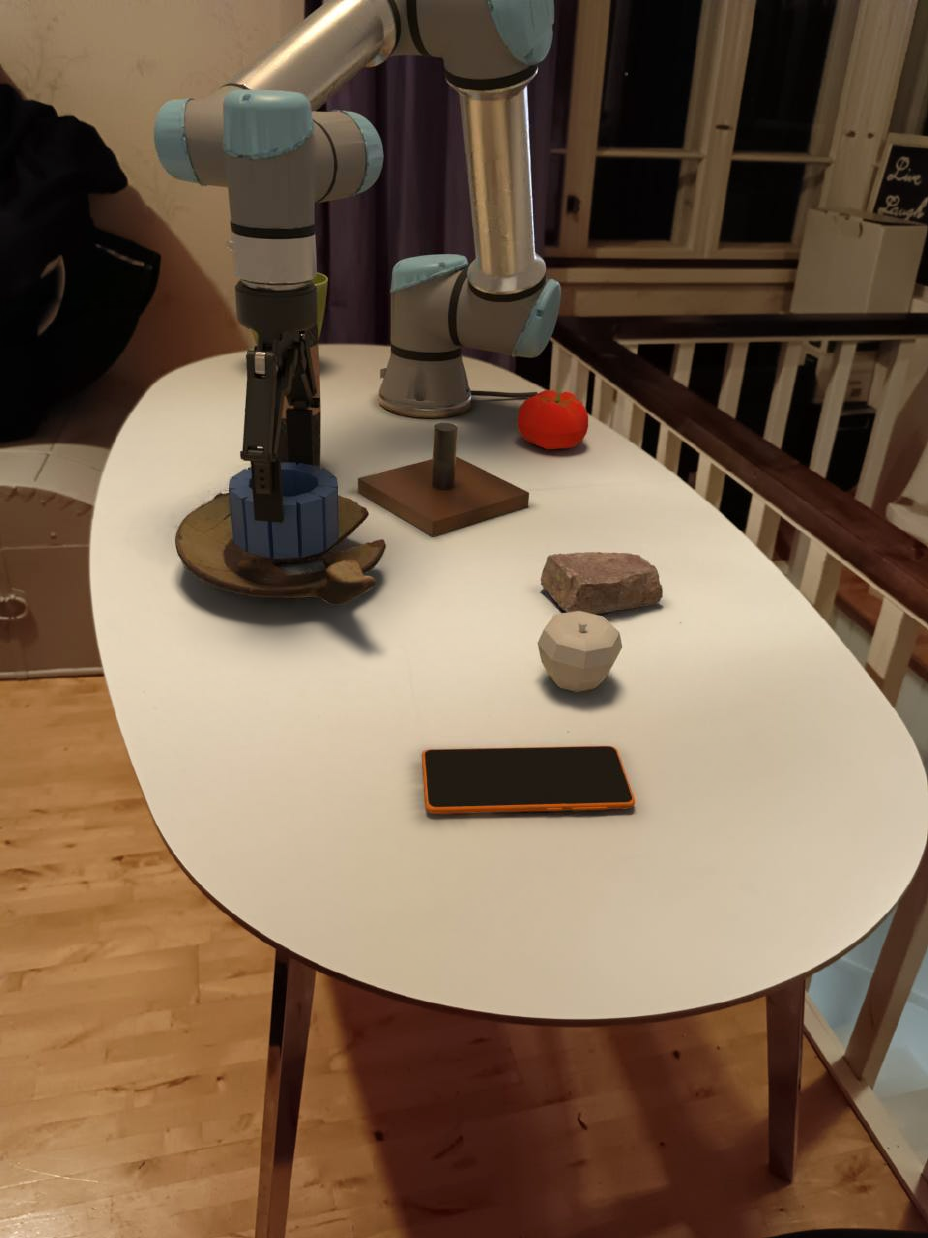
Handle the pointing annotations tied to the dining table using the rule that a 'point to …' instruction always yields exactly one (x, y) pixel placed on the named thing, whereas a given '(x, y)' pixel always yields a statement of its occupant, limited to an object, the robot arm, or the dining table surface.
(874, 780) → the dining table surface
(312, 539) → the ring
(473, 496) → the platform
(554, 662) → the apple
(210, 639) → the dining table surface
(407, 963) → the dining table surface
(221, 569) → the brown shallow round piece
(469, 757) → the smartphone
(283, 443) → the travel mug
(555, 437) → the tomato
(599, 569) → the stone
